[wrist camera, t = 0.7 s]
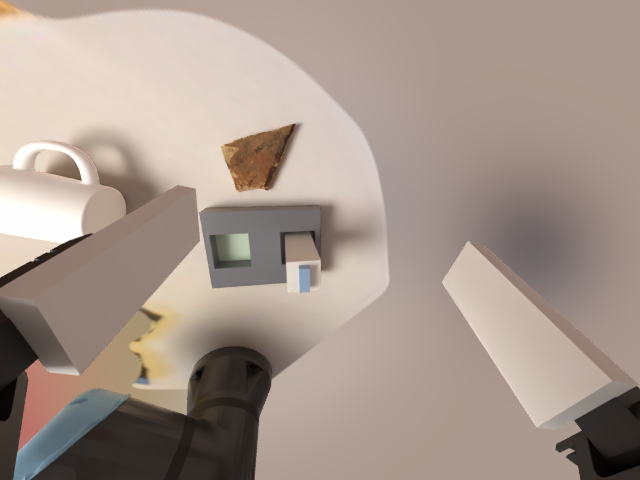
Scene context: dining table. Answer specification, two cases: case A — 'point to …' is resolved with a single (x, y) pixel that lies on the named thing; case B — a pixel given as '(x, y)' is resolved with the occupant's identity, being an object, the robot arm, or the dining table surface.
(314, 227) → the panel
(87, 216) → the mug
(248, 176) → the shard
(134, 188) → the dining table surface
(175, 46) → the dining table surface
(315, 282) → the plug
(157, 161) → the dining table surface
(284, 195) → the dining table surface
